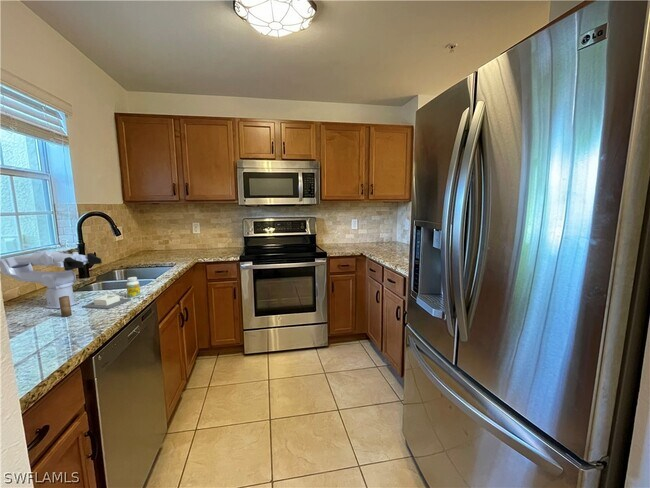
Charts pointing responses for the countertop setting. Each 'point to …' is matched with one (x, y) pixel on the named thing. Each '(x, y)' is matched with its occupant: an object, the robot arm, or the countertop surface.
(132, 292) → the supplement bottle
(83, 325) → the countertop surface
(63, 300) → the walnut peg
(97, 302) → the peg socket
